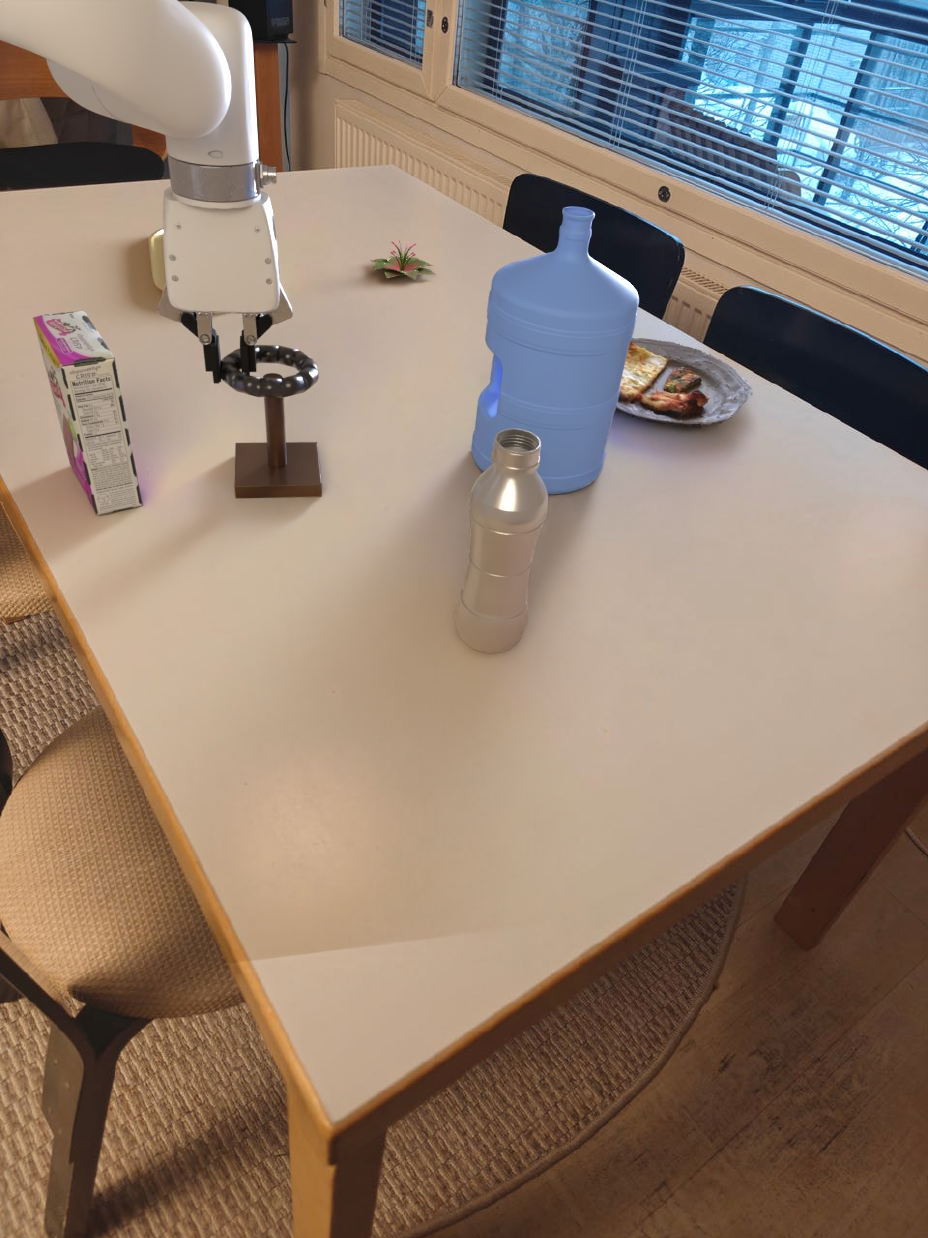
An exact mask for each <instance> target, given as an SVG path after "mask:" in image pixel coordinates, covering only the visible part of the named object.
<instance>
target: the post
mask: <svg viewBox="0 0 928 1238" xmlns="http://www.w3.org/2000/svg"><path fill="white" fill-rule="evenodd" d="M262 378H284V377H283V375H282V374H280V373H275V372H269V373H266V374H264V375H262ZM263 404H264V405H263V406H264V407H263V408H264V421H265V422H264V423H265V435H266V442H235V445H234V447H235V448H234V450H235V451H234V455H235V456H234V479H233V480H234V481H233V483H234V484H233V487H234V488H233V489H234V498H235V499H261V498H262V499H264V498H265V499H268V498H269V499H273V498H274V499H275V498H317V497H318V498H319V497H320V498H321V497H323V490H322V489H323V486H322V485H323V483H322V477H321V466H320V457H319V447H318V442H317V441H311V442H310V441H300V442H299V441H298V442H296V441H295V442H294V441H292V442H291V441H289V442H287V440H286V438H287V436H286V435H287V434H286V416H285V397H283V398H275V397H263Z"/></svg>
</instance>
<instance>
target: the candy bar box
mask: <svg viewBox="0 0 928 1238" xmlns="http://www.w3.org/2000/svg"><path fill="white" fill-rule="evenodd" d="M32 321H33V323H34V327H35V331H36V335H37V339H38V344H39V348H40V352H41V355H42V361H43V363H44V368H45V372H46V375H47V379H48V383H49V387H50V391H51V395H52V399H53V403H54V407H55V410H56V411H55V412H56V414H57V419H58V422H59V426H60V430H61V434H62V438H63V442H64V446H65V448H66V449H65V450H66V455H67V457H68V463H69V465H70V467H71V469H72V470H73V473H74V475H75V477H76V479H77V480H78V483H79V484H80V486H81V488H82V490H83V492H84V494H85V496H86V498H87V500H88V502H89V504H90V505H91V507H92V510H93V511H94V513H95V516H97V517H98V516H106V515H110V514H114V513H119V512H123V511H126V510H130V509H131V510H132V509H135V508H140V507H143V506H144V504H143V499H142V494H141V489H140V483H139V477H138V473H137V468H136V463H135V457H134V453H133V446H132V442H131V437H130V431H129V427H128V421H127V416H126V411H125V406H124V399H123V396H122V390H121V386H120V381H119V374H118V369H117V364H116V357H115V355H114V354H113V353H112V352H111V350H110V348H109V347H108V345H107V344H106V342H105V340H104V339H103V337H102V336H101V335H100V333H99V331H98V330H97V329H96V327H95V326H94V324H93V322H92V321H91V319H90V318H89V316H88V315H87V314H86V312H85V311H84V310H76V311H68V312H58V313H52V314H49V313H48V314H47V313H45V314H40V315H37V316H33V317H32Z"/></svg>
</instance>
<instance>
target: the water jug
mask: <svg viewBox="0 0 928 1238" xmlns="http://www.w3.org/2000/svg"><path fill="white" fill-rule="evenodd" d="M561 213H562V222H561V225H560V226H559V230H558V241H557V246H556V248H555V249H554V250H553V251H549V252H546V253H542V254H539V255H536V256H532V257H531V256H530V257H528V258H524V259H521V260H517V261H514V262H510V263H508V264H506V265H503V266H501V267H500V268H498V270H496V272H495V273H494V275H493V277H492V279H491V287H490V290H489V294H488V297H487V298H488V299H487V307H486V321H487V322H486V329H485V336H484V341H485V344H486V346H487V348H488V350H489V351H490V352H491V353H492V354H493V355H492V356H493V357H492V363H491V370H490V371H491V372H490V380H489V383H488V385H487V386H486V387H484V389H483V390H482V391H481V392H480V393H479V396H478V400H477V405H476V415H475V424H474V430H473V433H472V439H471V447H470V448H471V455H472V458H473V461H474V462H475V464H476V466H477V467H478V468H479V469H480V470H481V472H482V473H483V472H484V471H485V470H486V469H487V468H488V467H489V466H491V465H492V462H491V453H492V450H493V446H494V439H495V436H496V434H497V433H499V432H500V431H502V430H506V429H522V430H526V431H529V432H532V433H533V434H535V435H537V436H538V437H539V439H540V440H541V450H540V463H539V467H538V468H537V469H536V471H537V472H538V474H539V475H540V477H541V479H542V481H543V483H544V485H545V487H546V489H547V493H548V495H561V494H562V495H563V494H569V493H573V492H577V491H580V490H582V489H584V488H586V487H588V486H589V485H591V484H592V483H594V482H595V481H596V480H597V479H598V477H599V476H600V474H601V473H602V471H603V468H604V463H605V458H606V448H607V444H608V439H609V436H610V431H611V427H612V424H613V423H612V422H613V418H614V413H615V412H616V410H617V409H616V406H617V403H618V398H619V394H620V383H621V379H622V375H623V370H624V366H625V362H626V357H627V353H628V348H629V344H630V341H631V339H632V338H633V335H634V334H635V333H634V332H635V328H636V324H637V319H638V308H639V304H640V297H639V294H638V291H637V289H636V288H635V287H634V285H632V284H631V282H629V280H627V279H626V278H624V277H622V276H621V275H619V274H617V273H616V272H614V271H613V270H611V269H609V267H606V266H605V265H603V264H602V263H600V262H599V261H597V260H595V259H594V258H593V257H591V256H590V255H589V244H590V239H591V237H592V223H593V220H594V219H595V216H596V213H595V212H594V211H593V210H591V209H589V208H586V207H581V206H565V207H563V208H562V212H561Z"/></svg>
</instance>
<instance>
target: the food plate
mask: <svg viewBox="0 0 928 1238" xmlns="http://www.w3.org/2000/svg"><path fill="white" fill-rule="evenodd" d="M752 395H753V387H752V386H751V385H750V383H748V381H747V379H745V378H744V377H743V376H742V375H741V374H739V372H738V371H737V370H736V369H734V368H733V366H730V365H729V364H728V363H727V362H725V361H723V360H721V359H720V358H717V357H715V356H713V355H712V354H711V353H707V352H706V351H702V350H700V349H697V348H694V347H690V346H686V345H683V344H680V343H676V342H674V341H668V340H660V339H659V340H658V339H652V338H647V337H646V338H645V337H632V339H631V341H630V344H629V348H628V353H627V357H626V362H625V366H624V370H623V375H622V379H621V383H620V394H619V398H618V403H617V406H616V409H615V410H617V411H620V412H622V413H625V414H626V415H628V416H630V417H632V418H637V419H640V420H645V421H648V422H654V423H660V424H661V423H665V424H671V425H672V424H673V425H677V426H681V427H689V426H692V427H699V429H701V427H709V426H711V425H712V424H713V423H716V424H717V425H721V424H723V423H724V422H727V421H728V420H730V419H731V418H732V417H733V416H734V415H735V413H737V411H739V410H740V409H741V407H742V406H743V404H745V403H746V401H747V400H748V398H749V397H750V396H752Z"/></svg>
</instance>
